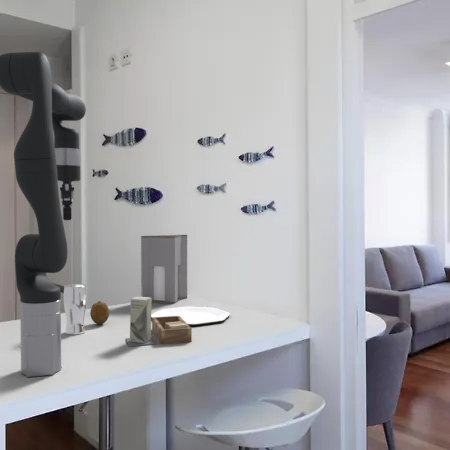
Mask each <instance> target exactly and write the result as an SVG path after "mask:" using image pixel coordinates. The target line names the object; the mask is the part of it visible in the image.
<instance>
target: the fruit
mask: <svg viewBox="0 0 450 450" xmlns="http://www.w3.org/2000/svg"><path fill="white" fill-rule="evenodd" d="M109 316H110V309H109V306H108V305H107V303H106V302H103V301H101V300H100V301H97V302H95V303H93V304H92V306H91V308H90V318H91V320H92V322H93V323H94V324H96V325H99V326H101V325H103V324H105V323H106V322H107V321H108V319H109Z"/></svg>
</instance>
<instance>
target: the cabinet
mask: <svg viewBox="0 0 450 450" xmlns="http://www.w3.org/2000/svg"><path fill="white" fill-rule="evenodd" d="M140 247H141V248H140V249H141V250H140V251H141V252H140V273H141V274H140V283H141V286H140V287H141V288H140V292H141V293H140V295H141V296H140V297H150V298H152V301H151V303H153V304H154V303H156V304H157V303H158V304H175V305H176V303H178V302H180V301H181V300H184V299H188V234H168V235H167V234H166V235H165V234H162V235H141V236H140Z"/></svg>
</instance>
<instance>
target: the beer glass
mask: <svg viewBox="0 0 450 450" xmlns="http://www.w3.org/2000/svg"><path fill="white" fill-rule="evenodd" d="M63 288H64V289H63V307H64V308H63V309H64V313H65V319H66V327H65V334H66V335H69V336H70V335H72V336H74V335H75V336H76V335H81V334H85V333H86V328H85V312H86V309H87V289H86V288H87V286H86V284H83V283H72V284H65V285H64V286H63Z"/></svg>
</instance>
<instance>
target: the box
mask: <svg viewBox="0 0 450 450" xmlns="http://www.w3.org/2000/svg"><path fill="white" fill-rule="evenodd" d="M151 301H152V298H150V297H141V296H134V297H132V298H131V299H130V314H129V316H130V317H129V322H130V324H129V338H130V342H138V343H146V342H147V341H149V340H151V337H152V336H151V335H152V334H151V333H152V331H151V330H152V318H151V314H152V302H151Z"/></svg>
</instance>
